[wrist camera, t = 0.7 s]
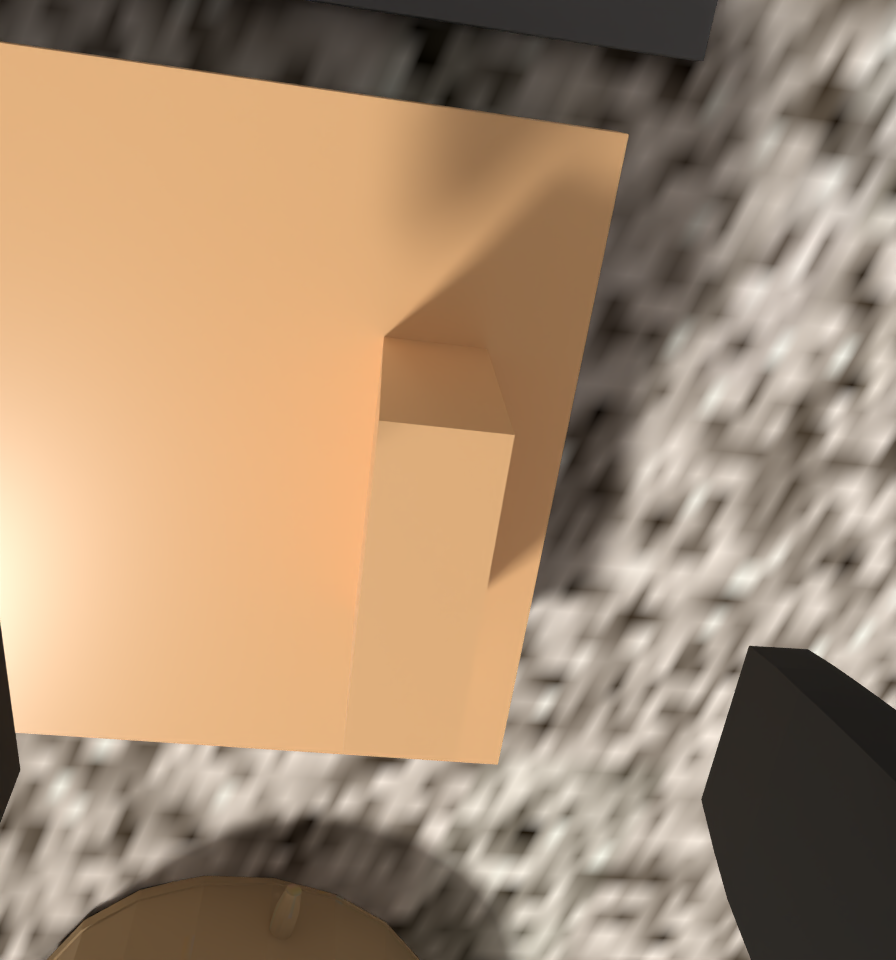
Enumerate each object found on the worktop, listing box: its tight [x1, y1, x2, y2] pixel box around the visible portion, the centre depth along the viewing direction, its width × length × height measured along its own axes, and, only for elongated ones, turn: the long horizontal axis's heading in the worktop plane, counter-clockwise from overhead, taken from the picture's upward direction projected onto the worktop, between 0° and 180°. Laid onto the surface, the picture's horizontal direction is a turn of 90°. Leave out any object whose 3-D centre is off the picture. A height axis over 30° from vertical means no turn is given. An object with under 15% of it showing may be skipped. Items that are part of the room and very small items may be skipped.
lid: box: [0, 41, 629, 764], centre depth 13 cm, size 17×12×5 cm
